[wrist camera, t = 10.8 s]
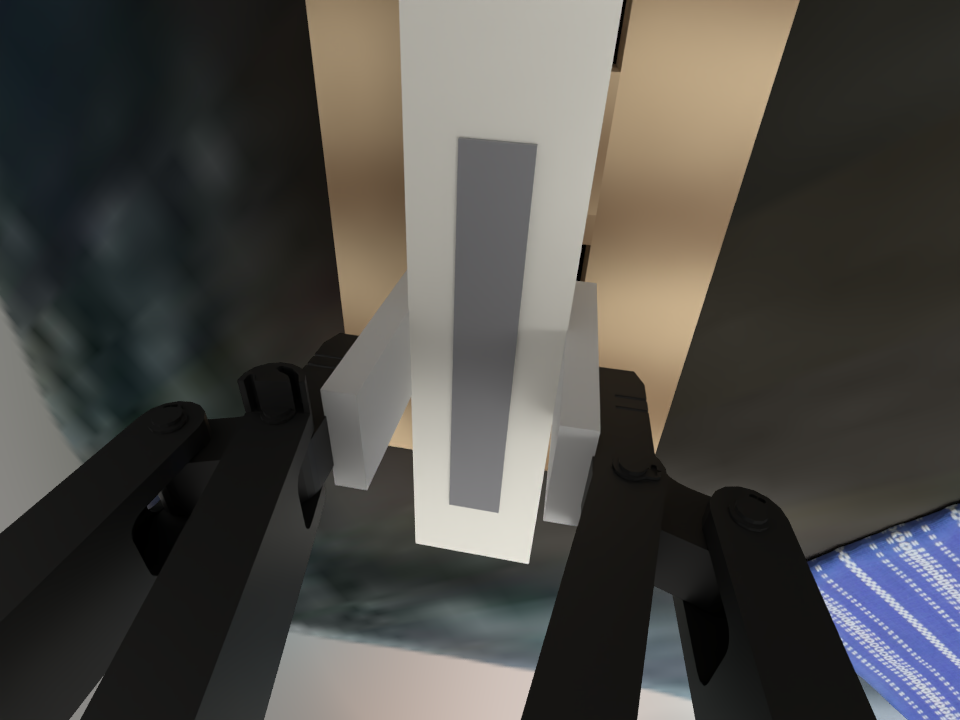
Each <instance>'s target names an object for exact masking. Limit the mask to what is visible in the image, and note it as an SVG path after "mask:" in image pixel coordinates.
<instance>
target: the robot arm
mask: <svg viewBox="0 0 960 720" xmlns="http://www.w3.org/2000/svg"><path fill="white" fill-rule="evenodd" d="M237 381H238V385H239V389H240V393H241V396H242V400H243V404H244V408H245V411H246V413H245V415H244V416H242V417H235V418H221V419H207V416H206V413H205V411H204V410H203V408H202V407H201V406H200V405H198V404H195V403H193V402H184V401H177V402H172V403H166V404H163V405H160V406H158V407H155V408H152V409H150V410H149V411H147V412H146V413H144V414H143V415H141V416H140V417H139V418H137V419H136V420H135V421H134V422H133V423H131V424H130V425H129V426H128V427H127V428H125V429H124V430H123V431H122V432H121V433H119V434H118V435H117V436H116V437H115V438H114V439H112V440H111V441H110V442H109V443H108V444H106V445H105V446H104V447H103V448H102V449H100V450H99V451H98V452H97V453H96V454H94V455H93V456H92V457H91V458H90V459H89V460H87V461H86V462H85V463H84V464H83V465H81V466H80V467H79V468H78V469H77V470H75V471H74V472H73V473H72V474H71V475H69V476H68V477H67V478H66V479H65V480H64V481H62V482H61V483H60V484H59V485H58V486H56V487H55V488H54V489H53V490H52V491H51V492H49V493H48V494H47V495H46V496H45V497H43V498H42V499H41V500H40V501H39V502H37V503H36V504H35V505H34V506H33V507H31V508H30V509H29V510H28V511H27V512H26V513H24V514H23V515H22V516H21V517H20V518H18V519H17V520H16V521H15V522H14V523H12V524H11V525H10V526H9V527H8V528H6V529H5V530H4V531H3V532H2V533H0V720H69V719H70V718H71V717H72V715H73V714H74V713H75V712H76V710H77V709H78V708H79V706H80V705H81V704H82V703H83V701H84V700H85V699H86V697H87V696H88V694H89V693H90V692H91V691H92V690H93V688H94V687H95V686H96V684H97V683H98V682H99V681H100V679H101V678H102V677H103V678H102V680H101V682H100V684H99V686H98V688H97V689H96V691H95V693H94V695H93V697H92V699H91V701H90V702H89V704H88V706H87V708H86V710H85V712H84V714H83V716H82V717H81V719H80V720H264V717H265V713H266V710H267V706H268V703H269V699H270V696H271V692H272V689H273V685H274V682H275V678H276V674H277V671H278V667H279V664H280V660H281V657H282V653H283V649H284V646H285V642H286V638H287V635H288V632H289V628H290V624H291V621H292V617H293V614H294V610H295V607H296V603H297V599H298V596H299V592H300V589H301V585H302V582H303V578H304V574H305V571H306V567H307V564H308V560H309V557H310V553H311V549H312V546H313V542H314V539H315V535H316V532H317V528H318V524H319V521H320V517H321V514H322V510H323V507H324V503H325V499H326V490H325V484H324V482H325V480H326V478H327V477H328V475H329V473H330V471H331V469H332V468H333V474H334V480H335V485H339V486H345V487H351V488H357V489H363V490H367V489H368V487H369V485H370V483H371V481H372V479H373V476H374V474H375V472H376V470H377V468H378V466H379V464H380V462H381V459H382V457H383V455H384V453H385V451H386V449H387V447H388V445H389V442H390V440H391V438H392V436H393V434H394V432H395V430H396V428H397V425H398V423H399V421H400V419H401V417H402V415H403V413H404V411H405V408H406V406H407V404H408V402H409V400H410V398H411V396H412V381H411V352H410V322H409V310H408V278H407V270H406V272H405V273H404V274H403V276H402V277H401V279H400V280H399V281H398V283H397V284H396V285H395V287H394V288H393V290H392V291H391V292H390V294H389V295H388V297H387V298H386V299H385V301H384V302H383V303H382V305H381V306H380V308H379V309H378V310H377V312H376V313H375V315H374V316H373V317H372V319H371V320H370V321H369V323H368V324H367V326H366V327H365V328H364V330H363V331H362V333H361V334H360V335H359V336H358V335H351V334H343V333H339V334H338V335H336V336H334V337H333V338H331V339H329V340H327V341H326V342H324V343H323V345H322V346H321V347H320V348H319V350H318V351H317V352H316V353H315V356H313V357H312V358H311V359H310V361H309V362H308V365H306V366H305V367H304V368H303V369H301V368H299V367H297V366H295V365H293V364H288V363H281V362H280V363H268V364H264V365H261V366H257V367H254V368H253V369H251V370H249V371H247V372H245V373H244V374H243V375H242V376H241V377H240V378H239V379H238V380H237ZM646 400H647V398H646V391H645V385H644V383H643V382H642V381H641V380H640V378H639V377H638V376H637V374H636V373H635V372H634V371H627V370H620V369H612V368H605V367H599V353H598V313H597V283H591V282H583V281H576V284H575V290H574V296H573V302H572V308H571V314H570V320H569V326H568V330H567V332H566V338H565V344H564V351H563V357H562V363H561V369H560V375H559V381H558V387H557V394H556V400H555V406H554V412H553V420H552V431H551V442H550V452H549V463H548V474H547V485H546V495H545V506H544V517H543V521H549V522H554V523H560V524H566V525H572V526H577V530H576V533H575V536H574V540H573V543H572V547H571V550H570V554H569V557H568V560H567V564H566V567H565V571H564V574H563V577H562V581H561V584H560V588H559V591H558V595H557V598H556V601H555V605H554V608H553V612H552V615H551V619H550V622H549V625H548V629H547V632H546V636H545V639H544V642H543V646H542V649H541V653H540V656H539V660H538V663H537V666H536V670H535V673H534V677H533V680H532V684H531V687H530V690H529V694H528V697H527V701H526V704H525V707H524V711H523V715H522V718H521V720H637V716H638V707H639V699H640V692H641V684H642V676H643V668H644V660H645V652H646V644H647V636H648V628H649V620H650V612H651V604H652V596H653V588H654V586H655V587H657V588H660V589H662V590H664V591H666V592H668V593H670V594H672V595H673V600H674V606H675V611H676V617H677V622H678V627H679V633H680V638H681V644H682V649H683V655H684V660H685V666H686V671H687V676H688V682H689V687H690V693H691V698H692V704H693V708H694V714H695V720H877V719H876V717H875V715H874V713H873V710H872V708H871V706H870V703H869V701H868V699H867V697H866V694H865V692H864V690H863V688H862V685H861V683H860V681H859V679H858V676H857V674H856V672H855V669H854V667H853V665H852V663H851V660H850V658H849V656H848V654H847V651H846V649H845V647H844V645H843V642H842V640H841V638H840V636H839V633H838V631H837V629H836V626H835V624H834V622H833V620H832V617H831V615H830V613H829V611H828V608H827V606H826V604H825V602H824V599H823V597H822V595H821V592H820V590H819V588H818V586H817V583H816V581H815V579H814V577H813V574H812V572H811V570H810V568H809V565H808V563H807V561H806V558H805V556H804V554H803V552H802V549H801V547H800V545H799V543H798V540H797V538H796V536H795V534H794V531H793V529H792V527H791V524H790V522H789V520H788V519H787V517H786V516H785V514H784V513H783V511H782V510H781V508H780V507H778V506H777V505H776V504H775V503H774V502H773V501H771V500H770V499H769V498H767V497H766V496H764V495H762V494H760V493H758V492H756V491H754V490H750V489H747V488H743V487H724V488H721V489H719V490H717V491H715V493H714V494H713V496H712V497H710V496H707V495H705V494H702V493H700V492H697V491H695V490H692V489H690V488H688V487H686V486H684V485H681V484H679V483H678V482H676V481H675V480H673V479H672V478H671V477H669V476H668V475H667V474H666V469H665V467H664V466H663V464H662V463H661V461H660V460H659V459H658V458H657V457H656V456H655V452H654V445H653V438H652V431H651V425H650V418H649V413H648V404H647V402H646ZM157 495H159V498H160V501H159V502H158V503H157V504H156V505H155V506H153V507H152V508H150V509H148V508H147V505H148V504H149V503H150V502H151V501H152V500H153V499H154V498H155V497H156V496H157ZM104 674H105V675H104Z"/></svg>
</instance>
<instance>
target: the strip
mask: <svg viewBox="0 0 960 720" xmlns="http://www.w3.org/2000/svg"><path fill="white" fill-rule="evenodd" d="M622 4H623V0H399V21H400V53H401V85H402V117H403V149H404V181H405V213H406V245H407V278H408V310H409V322H410V352H411V381H412V396H411V406H412V438H413V470H414V502H415V534H416V543H418V544H423V545H429V546H434V547H439V548H445V549H450V550H456V551H461V552H467V553H472V554H477V555H483V556H488V557H494V558H499V559H504V560H510V561H515V562H521V563H526V564H529V558H530V553H531V547H532V541H533V535H534V529H535V523H536V517H537V511H538V505H539V499H540V493H541V487H542V481H543V475H544V469H545V463H546V457H547V451H548V445H549V439H550V433H551V427H552V420H553V412H554V406H555V400H556V394H557V387H558V381H559V375H560V369H561V363H562V357H563V351H564V344H565V338H566V332H567V330H568V326H569V320H570V314H571V308H572V302H573V296H574V290H575V284H576V278H577V272H578V266H579V260H580V254H581V248H582V242H583V236H584V230H585V224H586V219H587V213H588V207H589V201H590V195H591V189H592V183H593V177H594V171H595V165H596V159H597V153H598V147H599V141H600V135H601V129H602V123H603V117H604V111H605V105H606V99H607V93H608V87H609V81H610V75H611V69H612V63H613V57H614V52H615V46H616V40H617V34H618V28H619V22H620V16H621V10H622Z"/></svg>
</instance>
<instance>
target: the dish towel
mask: <svg viewBox="0 0 960 720" xmlns="http://www.w3.org/2000/svg"><path fill="white" fill-rule="evenodd" d="M807 563H808V565H809V568H810V570H811V572H812V574H813V577H814V579H815V581H816V583H817V586H818V588H819V590H820V592H821V595H822V597H823V599H824V602H825V604H826V606H827V608H828V611H829V613H830V615H831V617H832V620H833V622H834V624H835V626H836V629H837V631H838V633H839V636H840V638H841V640H842V642H843V645H844V647H845V649H846V651H847V654H848V656H849V658H850V660H851V663H852V665H853V667H854V669H855V672H856V673H857V674H858V675H859V676H860V677H862V678H863V679H864V680H865V681H866V682H867V683H869V684H870V685H871V686H872V687H873V688H874V689H875V690H876V691H877V692H878V693H879V694H880V695H881V696H882V697H884V698H885V699H886V700H887V701H888V702H889V703H890V704H891V705H892V706H893V707H894V708H895V709H896V710H897V711H899V712H900V713H901V714H902V715H903V716H904V717H905V718H906V719H907V720H960V503H958V504H954V505H951V506H948V507H946V508H944V509H943V510H941V511H938V512H935V513H932V514H930V515H927V516H924V517H921V518H918V519H916V520H913V521H910V522H907V523H903V524H899V525H896V526H894V527H890V528H888V529H887V530H884V531H882V532H880V533H878V534H875V535H872V536H869V537H866V538H864V539H861V540H859V541H856V542H854V543H851V544H849V545H846V546H842V547H839V548H837V549H835V550H834V551H832V552H829V553H827V554H825V555H822V556H820V557H817V558H815V559H812V560H810V561H808V562H807Z"/></svg>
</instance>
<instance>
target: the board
mask: <svg viewBox="0 0 960 720" xmlns="http://www.w3.org/2000/svg"><path fill="white" fill-rule="evenodd" d="M305 1H306V9H307V18H308V26H309V34H310V43H311V51H312V60H313V68H314V76H315V85H316V93H317V102H318V110H319V118H320V127H321V135H322V143H323V152H324V160H325V169H326V177H327V185H328V194H329V202H330V211H331V219H332V227H333V236H334V244H335V253H336V261H337V269H338V278H339V286H340V294H341V303H342V311H343V320H344V328H345V334H351V335H358V336H359V335H360V334H361V333H362V331H363V330H364V328H365V327H366V326H367V324H368V323H369V321H370V320H371V319H372V317H373V316H374V315H375V313H376V312H377V310H378V309H379V308H380V306H381V305H382V303H383V302H384V301H385V299H386V298H387V297H388V295H389V294H390V292H391V291H392V290H393V288H394V287H395V285H396V284H397V283H398V281H399V280H400V279H401V277H402V276H403V274H404V273H405V272H406V270H407V245H406V213H405V181H404V149H403V117H402V85H401V53H400V21H399V0H305ZM799 1H800V0H627V1H626V7H625V13H624V19H623V25H622V31H621V37H620V43H619V49H618V55H617V61H616V64H612V69H611V75H610V81H609V87H608V93H607V99H606V105H605V111H604V117H603V123H602V129H601V135H600V141H599V147H598V153H597V159H596V165H595V171H594V177H593V183H592V189H591V195H590V201H589V207H588V213H587V219H586V224H585V230H584V236H583V242H582V244H583V245H586V249H585V255H584V261H583V267H582V273H581V279H580V281H583V282H591V283H597V313H598V353H599V367H605V368H612V369H620V370H627V371H634V372H635V373H636V374H637V376H638V377H639V378H640V380H641V381H642V382H643V383H644V385H645V391H646V398H647V400H646V402H647V404H648V413H649V418H650V425H651V431H652V438H653V445H654V452H655V453H656V450H657V447H658V443H659V440H660V437H661V434H662V431H663V428H664V425H665V421H666V418H667V415H668V412H669V409H670V406H671V403H672V399H673V396H674V393H675V390H676V387H677V384H678V381H679V378H680V374H681V371H682V368H683V365H684V362H685V359H686V356H687V352H688V349H689V346H690V343H691V340H692V337H693V334H694V330H695V327H696V324H697V321H698V318H699V315H700V312H701V308H702V305H703V302H704V299H705V296H706V293H707V290H708V286H709V283H710V280H711V277H712V274H713V271H714V268H715V264H716V261H717V258H718V255H719V252H720V249H721V246H722V242H723V239H724V236H725V233H726V230H727V227H728V224H729V220H730V217H731V214H732V211H733V208H734V205H735V202H736V199H737V195H738V192H739V189H740V186H741V183H742V180H743V177H744V173H745V170H746V167H747V164H748V161H749V158H750V155H751V151H752V148H753V145H754V142H755V139H756V136H757V133H758V129H759V126H760V123H761V120H762V117H763V114H764V111H765V107H766V104H767V101H768V98H769V95H770V92H771V89H772V85H773V82H774V79H775V76H776V73H777V70H778V67H779V63H780V60H781V57H782V54H783V51H784V48H785V45H786V42H787V38H788V35H789V32H790V29H791V26H792V23H793V20H794V16H795V13H796V10H797V7H798V4H799ZM551 431H552V427H551ZM550 442H551V433H550V439H549V445H548V451H547V457H546V463H545V469H544V470H546V471H548V463H549V452H550ZM388 446H394V447H401V448H407V449H413V438H412V406H411V398H410V400H409V402H408V404H407V406H406V408H405V411H404V413H403V415H402V417H401V419H400V421H399V423H398V425H397V428H396V430H395V432H394V434H393V436H392V438H391V440H390V442H389V445H388Z"/></svg>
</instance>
